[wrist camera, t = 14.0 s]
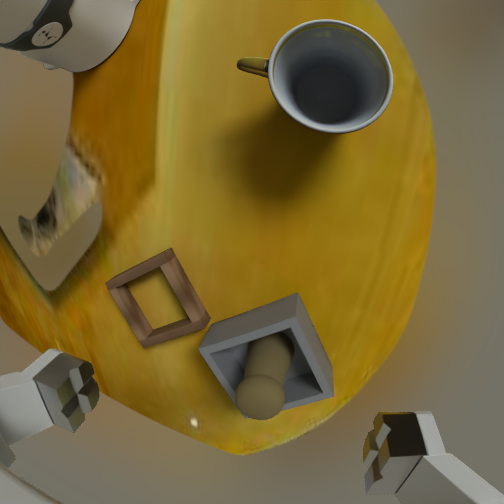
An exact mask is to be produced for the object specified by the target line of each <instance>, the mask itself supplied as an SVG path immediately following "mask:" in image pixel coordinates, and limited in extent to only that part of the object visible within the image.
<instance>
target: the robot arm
mask: <svg viewBox="0 0 504 504" xmlns="http://www.w3.org/2000/svg"><path fill="white" fill-rule="evenodd" d="M139 1H140V0H0V47H4V48H6V49H8V50H17V51H18V53H19V54H20V55H23V56H25V57H29V58H31V59H34V60H37V61H40V62H43V66H44V68H46V69H49V70H53V69H58V68H62V69H65V70H68V71H70V72H82V71H86V70H88V69H91V68H93V67H95V66H97V65H98V64H100V63H101V62H102V61H104V60H105V59H106V58H107V57H108V56H109V55H111V53H112V52H113V51H114V50H115V49H116V48H117V47H118V45H119V44H120V43H121V41H122V40H123V38H124V37H125V35H126V33H127V31H128V29H129V27H130V24H131V22H132V18H133V14H134V10H135V7H136V5H137V4H138V2H139ZM94 373H95V372H94V369H93V366H92V364H91V363H89V362H88V361H85V360H83V359H80V358H77V357H75V356H72V355H70V354H67V353H64V352H62V351H59V350H57V349H54V348H53V349H48V350H47V351H46V352H45V353H44V354H42V355H41V356H40V357H39V358H38V359H37V360H36V361H34V362H33V363H32V364H31V365H29V366H28V367H27V368H26V369H25V370H24V371H22V372H21V373H19V372H15V373H11V374H7V375H3V376H0V504H63V503H61V502H59V501H58V500H56V499H54V498H53V497H51V496H49V495H48V494H46V493H45V492H43V491H41V490H40V489H38V488H37V487H35V486H34V485H32V484H30V483H29V482H27V481H26V480H25V479H23V478H22V477H20V476H19V475H17V474H16V473H15V472H13V471H12V470H11V469H9V467H10V466H11V464H12V463H13V462H14V461H15V460H16V459H15V455H14V453H13V452H12V450H11V449H10V447H9V445H12V444H14V443H16V442H18V441H20V440H23V439H25V438H27V437H29V436H32V435H33V434H36V433H38V432H40V431H42V430H44V429H46V428H49V427H51V426H52V425H53V424H55V425H57V426H59V427H62V428H64V429H66V430H68V431H70V432H72V433H75V431H76V430H77V429H78V428H79V426H80V425H81V424H82V423H83V422H84V420H85V413H88V412H90V411H92V410H93V409H94V408H95V406H96V405H97V402H98V399H99V387H98V384H97V382H96V381H95V380H94V379H93V377H92V376H93V374H94ZM373 424H374V429H373V430H371V431H370V432H369V433H368V435H367V437H366V439H365V443H364V448H363V463H364V464H365V465H366V467H368V470H367V472H366V474H365V489H366V495H378V494H379V495H380V494H395V496H396V497H397V499H398V500H399V501H400V503H401V504H504V495H503V494H501V493H500V492H499V491H497V490H496V489H495V488H494V487H492V486H491V485H490V484H489V483H487V482H486V481H485V480H483V479H482V478H481V477H480V476H478V475H477V474H476V473H475V472H473V471H472V470H471V469H470V468H468V467H467V466H466V465H465V464H463V463H462V462H461V461H459V460H458V459H457V458H456V457H455V456H453V455H452V454H451V453H447V454H446V452H445V449H444V446H443V443H442V440H441V437H440V434H439V431H438V428H437V426H436V423H435V420H434V417H433V415H432V413H431V412H430V411H420V412H419V411H418V412H379V413H378V414H377V415H376V417H375V419H374V421H373Z"/></svg>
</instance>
